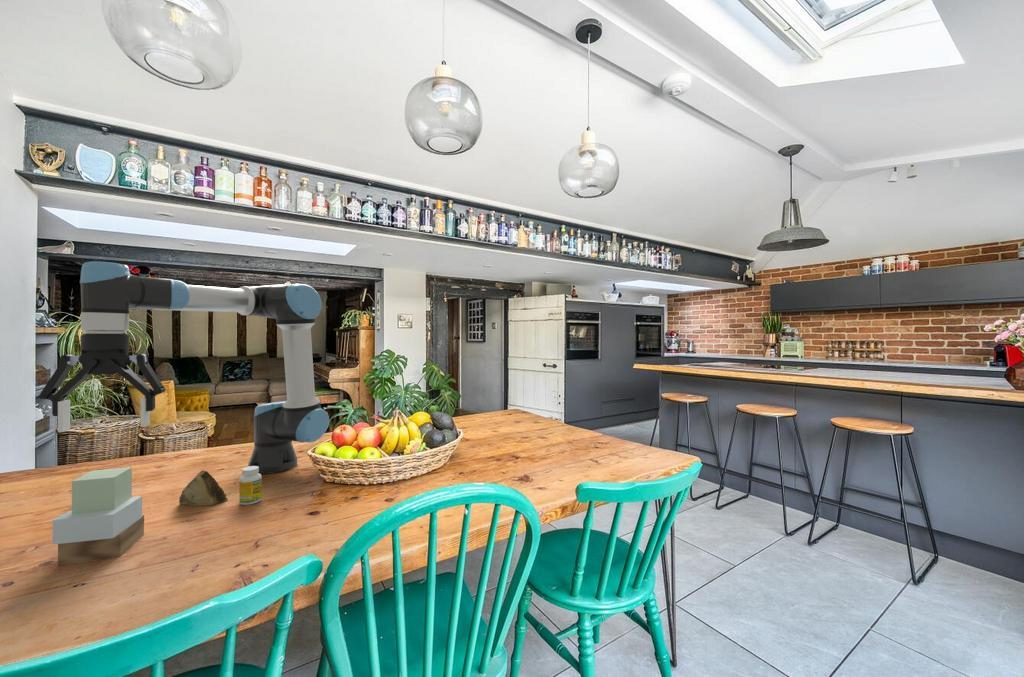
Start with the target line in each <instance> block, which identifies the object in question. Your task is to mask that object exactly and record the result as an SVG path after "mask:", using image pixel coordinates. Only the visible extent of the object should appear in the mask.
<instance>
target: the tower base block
mask: <svg viewBox="0 0 1024 677" xmlns="http://www.w3.org/2000/svg"><path fill="white" fill-rule="evenodd" d="M144 536H145V515H144V514H142V518H140V519H139V520H138V521H136V522H135V523H133V524H132V525H131V526H129V527H128V528H127V529H125V530H124V531H122V532H121V533H120V534H118V535H117V536H116V537H114V538H110V539H100V540H91V541H81V542H72V543H62V544H57V567H62V566H67V564H69V565H74V563H76V564H81V562H82V563H87V561H89V562H93V561H95V560H96V561H100V560H101V561H102V560H103V561H104V560H107V559H115V558H121V557H122V556H123V555H124V554H125V553H126V552H127V551H128V550H130V549H131V548H132V547H133V546H134V545H135V544H137V542H138V541H139V540H140V539H142V537H144Z"/></svg>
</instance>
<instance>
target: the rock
mask: <svg viewBox="0 0 1024 677" xmlns="http://www.w3.org/2000/svg"><path fill="white" fill-rule="evenodd" d="M226 501H228V497H227V495H226V493H225V490H224V489H223V488H222V487H221V486H220V485H219V483H218V482H217V480H216V479H215V478H214V477H213V476H212V474H210V472H208V471H207V470H204V469H202V470H201V471H199V472H198V473H196V476H195V477H194V478H193V479H192V480H191V481H189V483H187V485H186V486H185V488H184V489H182V491H181V494H180V496H179V500H178V503H179V504H180V505H189V506H190V505H191V506H194V505H195V506H213V505H217V504H220V503H224V502H226Z"/></svg>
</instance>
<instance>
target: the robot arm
mask: <svg viewBox="0 0 1024 677" xmlns="http://www.w3.org/2000/svg"><path fill="white" fill-rule="evenodd" d="M79 284H80V302H81V304H80V305H81V308H80V331H82V332H84V333H82V334H81V335H80V349H81V351H80V352H81V353H80V354H79V355H74V354H63V355H61V356H60V357H59V364H58V366H57V367H56V369H55V371H54V372H53V374H52V375H51V377H49V380H48V382H47V383H46V384H45V386H44V388H43V389H42V391H41V392H40V393H39V394H38V398H40V399H41V400H43V399H44V400H47V401H48V400H49V401H51V409H52V410H51V414H52V416H53V417H57V433H63V432H64V433H65V432H67V431H69V430H71V399H67V397H68V396H69V395H70V394H72V392H74V391H75V390H76V389H77V388H78V387H79V386H80V385H81V384H82V383H84V382H85V381H86V380H87V379H88V378H90V377H91V376H93V375H94V376H101V375H108V376H110V375H111V376H113V375H117V374H118V375H119V376H120V377H123V379H125V380H126V381H127V382H128V383H129V384H131V386H133V387H134V388H135V389H136V390H138V391H139V392H140V393H141V394H142V395H143V397H140V427H141V428H142V427H144V428H145V427H146V426H149V425H151V412H152V411H154V410H155V409H156V396H157V395H160V394H163V393H165V392H166V388H165V386H164V385H163V383H162V382H161V381H162V380H161V379H159V378H160V377H158V375H157V374H156V373H155V371H154V370H153V367H152V366H151V365H150V362H149V358H148V354H146V353H139V354H135V355H134V354H133V355H131V353H130V335H129V334H128V333H126V332H129V330H130V310H141V311H142V310H143V311H148V310H149V311H151V310H153V311H155V310H156V311H180V312H181V311H185V312H186V311H189V312H191V311H192V312H221V313H223V312H224V313H225V312H226V313H238V314H239V315H241V316H250V317H251V316H252V317H260V318H267V319H275V322H276V326H277V327H278V328H280V329H281V334H282V347H283V359H284V360H283V361H284V362H283V363H284V373H285V374H284V375H285V386H286V387H285V389H286V400H284V401H276V402H275V401H274V402H268V403H263V404H258V405H257V406H255V408H254V413H253V433H254V434H253V437H254V438H253V442H254V443H253V444H254V445H253V450H252V453H251V456H250V458H249V461H248V463H247V464H248V465H247V467H249V466H258V467H259V472H258V473H259V474H261V475H263V474H264V475H265V474H272V473H279V472H284V471H287V470H290V469H292V468H294V467H296V466H297V465H298V456H297V454H296V453H297V452H296V450H295V448H294V445H293V442H297V443H303V444H305V443H314V442H315V443H316V442H317V441H318V440H320V439H321V438H322V437H323V436H324V435H325V433H326V432H327V429H328V427H329V424H330V416H329V414H328V411H326V409H324V408H322V407H321V399H319V398H317V397H316V389H315V374H314V360H313V344H312V343H313V342H312V327H313V326H314V325H315V324H316V318H317V317H318V316H320V312H321V311H322V309H323V308H322V307H323V304H322V303H323V302H322V299H321V296H320V294H319V293H318V291H317V290H315V288H314V287H312V286H311V285H309V284H304V283H286V284H270V285H268V284H267V285H260V286H258V285H257V286H245V285H242V286H239V287H238V288H233V287H232V288H231V287H221V286H208V285H207V286H205V285H197V284H196V285H194V284H187V283H185V282H184V281H182V280H177V279H173V278H163V277H162V278H161V277H152V276H151V277H150V276H142V275H135V274H131V271H130V268H129V266H127V264H123V263H117V262H109V261H108V262H107V261H98V260H97V261H86V262H84V263H83V264H82V266H81V271H80V279H79ZM131 361H132V362H133V364H135V365H137V366H138V368H139V370H140V372H141V373H142V376H144V378H145V379H146V381H147V383H148V384H147V383H146V382H145V381H144V380H143V379H142V378H140V377H139V376H138V375H137V374H136V373H135V372H134V370H132V368H130V367H129V366H128V365H129V364H130V363H131ZM78 362H79V363H80V364H81V365H82V368H81V369H80V370H79V371H77V373H76V375H75V376H73V377H72V378H71V379H70V380H69V381H67V383H65V385H63V386H62V387H61V385H62V384H63V382H64V380H65V379H66V378H67V376H68V375H69V373H70V372H71V370H72V369H73V367H74V366H75V365H76V364H77V363H78ZM60 387H61V388H60ZM59 388H60V389H59Z"/></svg>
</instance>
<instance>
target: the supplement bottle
mask: <svg viewBox="0 0 1024 677" xmlns="http://www.w3.org/2000/svg"><path fill="white" fill-rule="evenodd" d="M258 472H259V467H258V466H249V467H248V466H246V467H243V468H242V469H241V474H242V475H241V476H240V477H239V479H238V480H239V481H238V484H239V487H238V488H239V494H238V495H239V497H238V498H239V501H238V502H239V504H240V505H242V506H249V505H254V504H256V503H259V502H261V500H262V491H263V490H262V488H263V487H262V485H263V484H262V482H263V481H262V480H263V478H262V474H259V473H258Z"/></svg>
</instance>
